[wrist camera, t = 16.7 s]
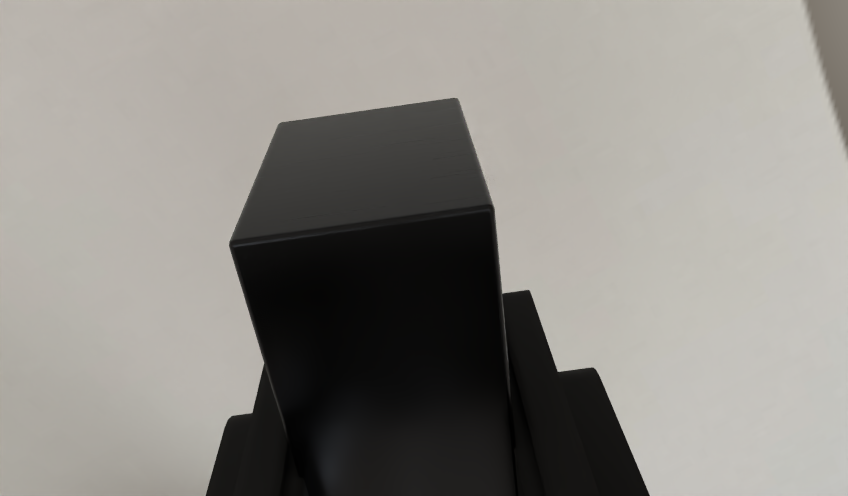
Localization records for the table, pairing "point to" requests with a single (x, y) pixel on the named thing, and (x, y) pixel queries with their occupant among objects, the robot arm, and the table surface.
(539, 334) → the robot arm
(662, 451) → the table surface
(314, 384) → the table knife
